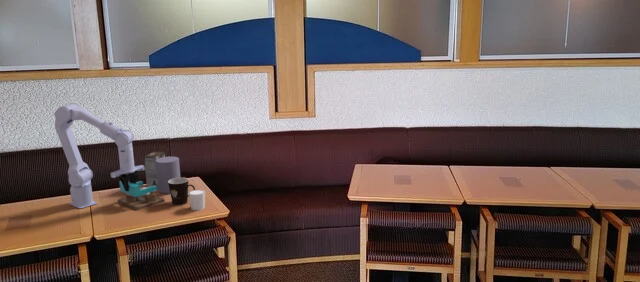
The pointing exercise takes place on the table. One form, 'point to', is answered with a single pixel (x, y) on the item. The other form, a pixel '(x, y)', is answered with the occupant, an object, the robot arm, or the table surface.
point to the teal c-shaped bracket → (137, 189)
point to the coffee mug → (179, 190)
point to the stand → (141, 200)
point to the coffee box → (152, 168)
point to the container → (166, 172)
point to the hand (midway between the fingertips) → (129, 189)
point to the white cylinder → (197, 199)
